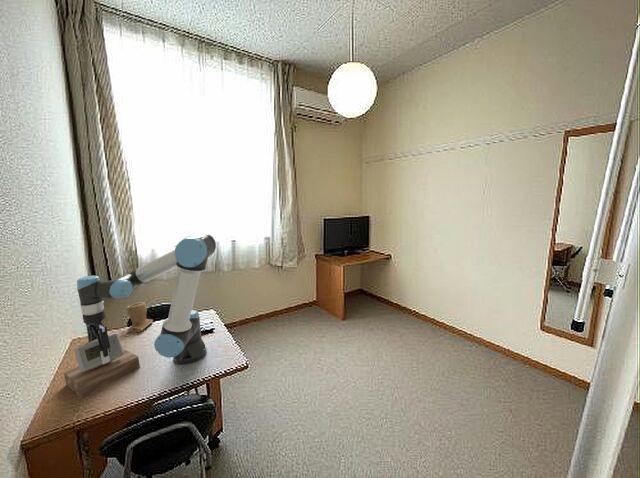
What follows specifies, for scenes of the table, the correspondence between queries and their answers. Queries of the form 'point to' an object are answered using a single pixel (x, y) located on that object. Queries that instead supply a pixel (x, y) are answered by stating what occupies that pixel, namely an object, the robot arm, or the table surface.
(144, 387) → the table surface
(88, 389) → the walnut block
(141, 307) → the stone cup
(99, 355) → the digital clock
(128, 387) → the table surface
